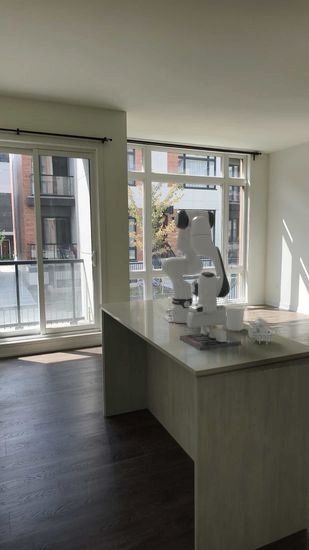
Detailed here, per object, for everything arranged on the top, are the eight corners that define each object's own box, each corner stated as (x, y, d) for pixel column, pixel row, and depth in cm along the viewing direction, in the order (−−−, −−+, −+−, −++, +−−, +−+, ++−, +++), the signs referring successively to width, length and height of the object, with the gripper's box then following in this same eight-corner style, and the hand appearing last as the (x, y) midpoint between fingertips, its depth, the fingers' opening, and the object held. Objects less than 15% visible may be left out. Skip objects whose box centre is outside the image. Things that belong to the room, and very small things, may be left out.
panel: (179, 338, 175) (179, 335, 175) (217, 334, 184) (217, 331, 183) (199, 350, 157) (199, 346, 157) (241, 344, 165) (241, 340, 165)
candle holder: (230, 331, 189) (230, 309, 188) (223, 327, 199) (223, 306, 198) (247, 330, 191) (247, 308, 190) (239, 326, 200) (239, 305, 199)
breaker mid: (208, 336, 172) (208, 326, 172) (213, 335, 173) (213, 325, 173) (212, 338, 168) (212, 327, 168) (218, 337, 170) (218, 327, 169)
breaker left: (200, 333, 178) (200, 323, 178) (206, 332, 180) (206, 322, 179) (205, 334, 175) (205, 325, 174) (210, 334, 176) (210, 324, 175)
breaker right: (216, 340, 166) (216, 329, 165) (221, 339, 167) (221, 328, 166) (220, 342, 162) (220, 331, 161) (226, 341, 163) (226, 330, 163)
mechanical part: (272, 347, 161) (272, 321, 160) (245, 343, 166) (246, 318, 165) (276, 341, 170) (277, 316, 169) (251, 337, 176) (252, 314, 175)
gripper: (222, 304, 175) (222, 331, 176) (185, 307, 167) (185, 335, 169) (229, 306, 169) (229, 334, 170) (191, 309, 162) (191, 338, 163)
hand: (207, 335), depth 169 cm, fingers closed
